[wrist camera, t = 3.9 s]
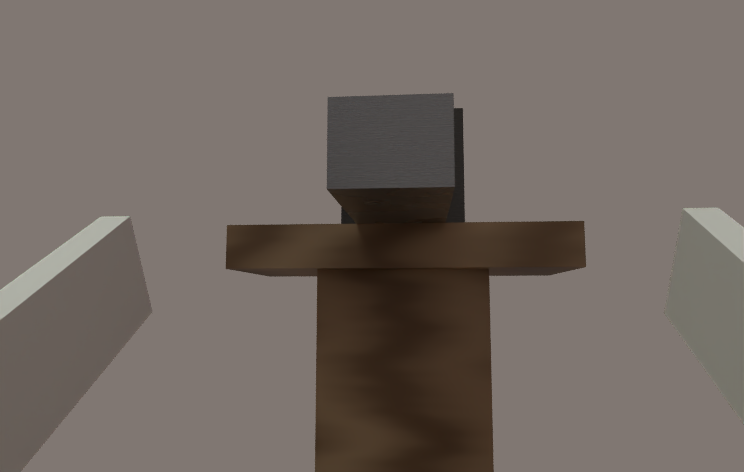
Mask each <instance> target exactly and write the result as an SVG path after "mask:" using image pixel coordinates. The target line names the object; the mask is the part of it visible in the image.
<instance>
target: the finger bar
mask: <svg viewBox="0 0 744 472" xmlns="http://www.w3.org/2000/svg"><path fill="white" fill-rule="evenodd" d="M453 105H454V101H453V93H446V94H416V95H386V96H385V95H383V96H351V97H328V129H327V130H328V131H327V132H328V133H327V134H328V135H327V136H328V137H327V190H328V191H329V192H330V193H331V194H332V196H333V197H334V198H335V199H336V200H337V202H338V203H339V204H340V205H341V206H342V213H341V215H342V216H341V217H342V219H341V224H379V223H463V222H465V211H464V154H463V109H462V108H454V106H453Z"/></svg>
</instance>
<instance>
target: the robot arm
mask: <svg viewBox="0 0 744 472" xmlns="http://www.w3.org/2000/svg"><path fill="white" fill-rule="evenodd" d="M151 313H152V308H151V304H150V300H149V295H148V291H147V287H146V282H145V278H144V274H143V269H142V265H141V261H140V257H139V252H138V248H137V244H136V240H135V235H134V231H133V226H132V222H131V218H130V216H109V217H100V218H98V219H97V220H96V221H94V222H93V223H91V224H90V225H89V226H87V227H86V228H85V229H83V230H82V231H81V232H79V233H78V234H76V235H75V236H74V237H72V238H71V239H70V240H68V241H67V242H65V243H64V244H63V245H61V246H60V247H59V248H57V249H56V250H54V251H53V252H52V253H51V254H49V255H48V256H46V257H45V258H43V259H42V260H41V261H39V262H38V263H37V264H36V265H34V266H32V267H31V268H30V269H28V270H27V271H26V272H25V273H23V274H21V275H20V276H19V277H17V278H16V279H15V280H13V281H12V282H11V283H9V284H8V285H6V286H5V287H4V288H2V289H1V290H0V472H21V471H22V469H23V468H24V467H25V466H26V465H27V463H28V462H29V461H30V460H31V459H32V457H33V456H34V455H35V453H36V452H37V451H38V450H39V449H40V448H41V446H42V445H43V444H44V443H45V442H46V440H47V439H48V438H49V437H50V435H51V434H52V433H53V432H54V431H55V429H56V428H57V427H58V425H59V424H60V423H61V422H62V421H63V420H64V418H65V417H66V416H67V415H68V414H69V412H70V411H71V410H72V409H73V408H74V406H75V405H76V404H77V403H78V401H79V400H80V399H81V398H82V397H83V395H84V394H85V393H86V392H87V391H88V389H89V388H90V387H91V386H92V384H93V383H94V382H95V381H96V380H97V378H98V377H99V376H100V375H101V374H102V372H103V371H104V370H105V369H106V367H107V366H108V365H109V364H110V363H111V361H112V360H113V359H114V357H116V355H117V354H118V353H119V352H120V350H121V349H122V348H123V347H124V346H125V344H126V343H127V342H128V341H129V340H130V338H131V337H132V336H133V335H134V334H135V332H136V331H137V330H138V329H139V327H140V326H141V325H142V324H143V323H144V321H145V320H146V319H147V318H148V316H149V315H150V314H151ZM664 314H665V315H666V316H667V318H668V319H669V320H670V322H671V323H672V325H673V326H674V328H675V329H676V330H677V332H678V333H679V335H680V336H681V337H682V339H683V340H684V342H685V343H686V344H687V346H688V347H689V349H690V350H691V351H692V353H693V354H694V356H695V357H696V358H697V360H698V361H699V362H700V364H701V365H702V367H703V368H704V370H705V371H706V372H707V374H708V375H709V377H710V378H711V379H712V381H713V382H714V384H715V385H716V386H717V388H718V389H719V391H720V392H721V393H722V395H723V396H724V398H725V399H726V400H727V402H728V403H729V405H730V406H731V407H732V409H733V410H734V412H735V413H736V414H737V416H738V417H739V419H740V420H741V421H742V423H743V424H744V227H742V226H741V225H740V224H738V223H737V222H736V221H734V220H733V219H732V218H731V217H729V216H728V215H727V214H726V213H724V212H723V211H722V210H720V209H719V208H683V210H682V216H681V221H680V227H679V232H678V238H677V244H676V249H675V255H674V260H673V266H672V272H671V277H670V283H669V289H668V294H667V300H666V306H665V311H664Z"/></svg>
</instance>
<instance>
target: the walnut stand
mask: <svg viewBox="0 0 744 472" xmlns="http://www.w3.org/2000/svg"><path fill="white" fill-rule="evenodd" d="M584 232H585V231H584V221H555V222H554V221H551V222H550V221H548V222H463V223H379V224H296V225H295V224H294V225H227V247H226V269H231V270H236V271H242V272H248V273H253V274H259V275H265V276H317V353H316V355H317V359H316V440H315V442H316V443H315V472H494V470H493V427H492V383H491V343H490V342H491V340H490V296H489V276H495V275H496V276H515V275H516V276H518V275H553V274H557V273H561V272H566V271H570V270H575V269H579V268H583V267H586V256H585V233H584Z"/></svg>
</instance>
